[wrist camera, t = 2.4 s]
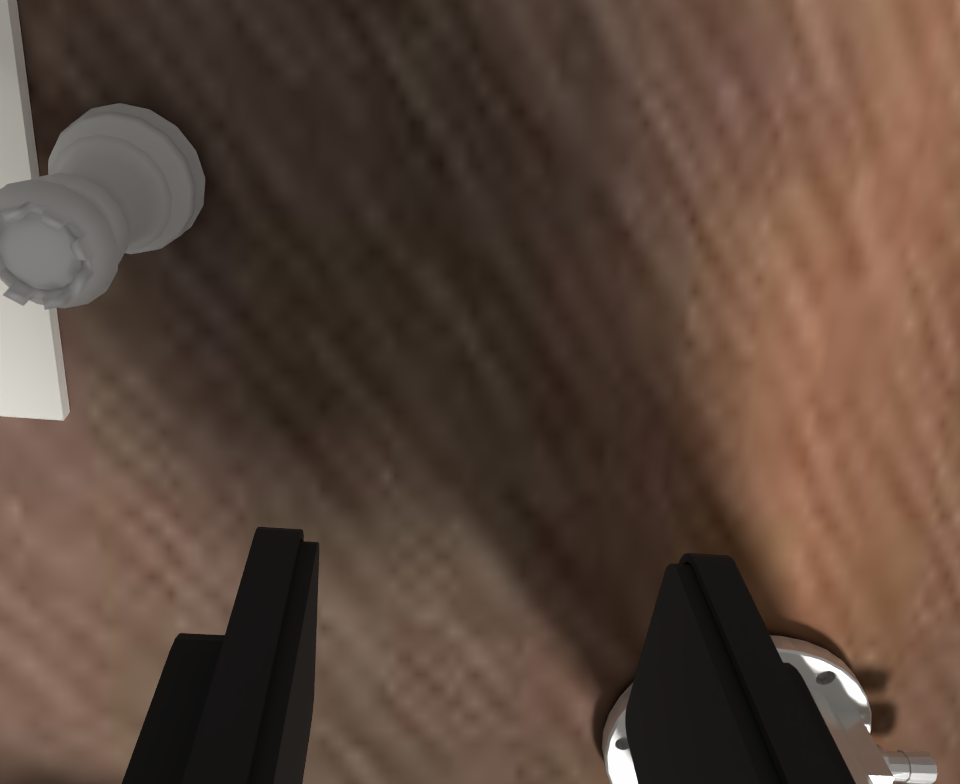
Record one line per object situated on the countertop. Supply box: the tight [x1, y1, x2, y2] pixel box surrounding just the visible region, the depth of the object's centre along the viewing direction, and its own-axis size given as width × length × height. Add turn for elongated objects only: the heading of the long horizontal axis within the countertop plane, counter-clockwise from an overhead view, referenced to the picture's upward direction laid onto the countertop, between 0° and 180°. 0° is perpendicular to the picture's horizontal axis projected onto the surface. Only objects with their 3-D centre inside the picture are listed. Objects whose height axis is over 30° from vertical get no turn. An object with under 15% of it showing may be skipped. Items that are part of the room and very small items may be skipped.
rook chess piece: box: [0, 103, 205, 310], centre depth 23 cm, size 4×4×8 cm
